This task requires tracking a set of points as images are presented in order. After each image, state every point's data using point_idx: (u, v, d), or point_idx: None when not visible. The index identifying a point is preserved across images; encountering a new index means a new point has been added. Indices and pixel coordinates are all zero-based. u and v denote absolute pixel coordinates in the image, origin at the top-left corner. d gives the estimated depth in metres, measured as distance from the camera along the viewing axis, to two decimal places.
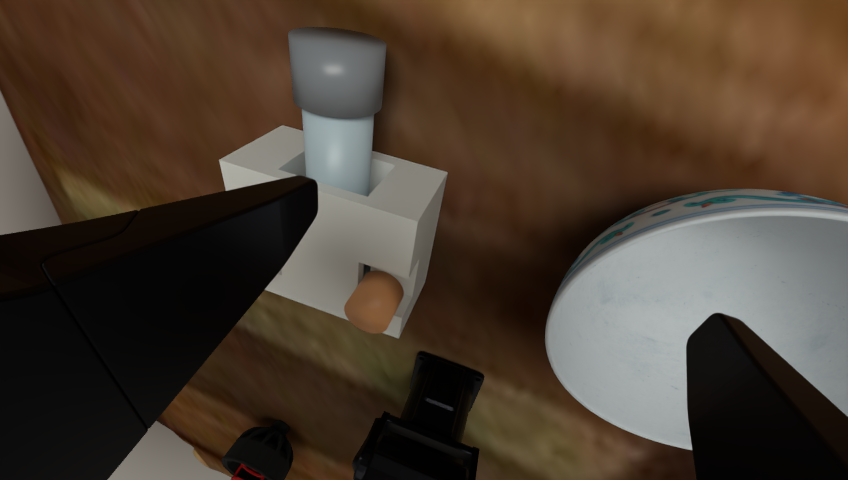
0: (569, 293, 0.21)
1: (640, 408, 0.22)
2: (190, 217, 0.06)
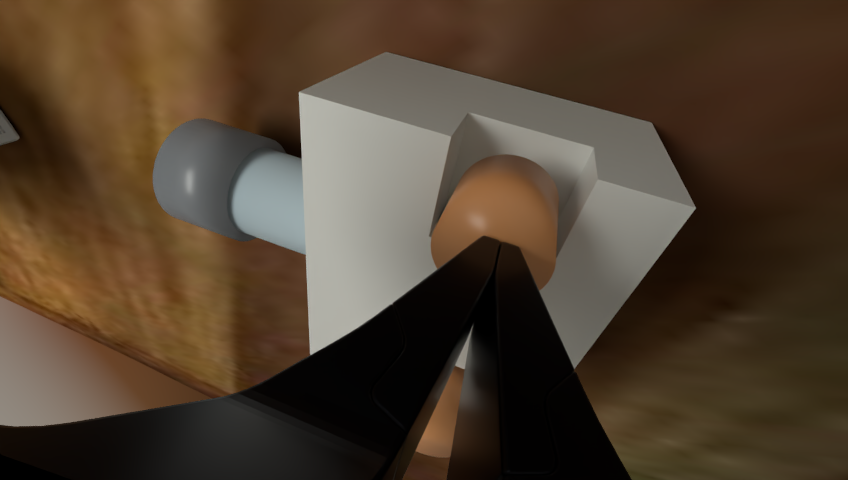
0: None
1: None
2: (444, 310, 0.05)
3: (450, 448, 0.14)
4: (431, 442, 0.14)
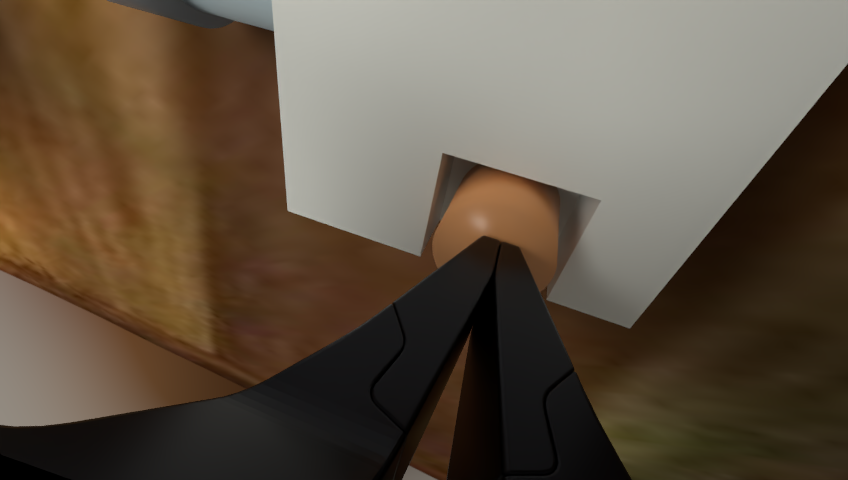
0: None
1: None
2: (444, 309, 0.05)
3: (536, 276, 0.08)
4: None
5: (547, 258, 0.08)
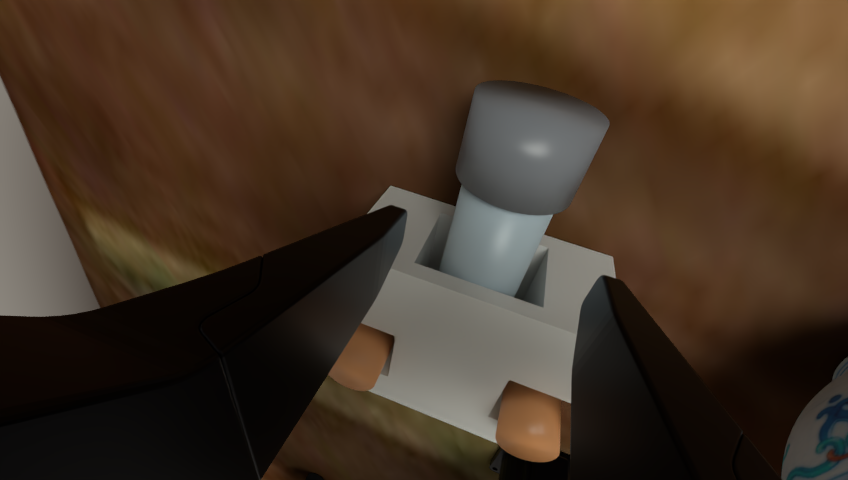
0: None
1: None
2: (314, 262, 0.06)
3: (346, 383, 0.19)
4: (344, 375, 0.18)
5: (356, 388, 0.19)
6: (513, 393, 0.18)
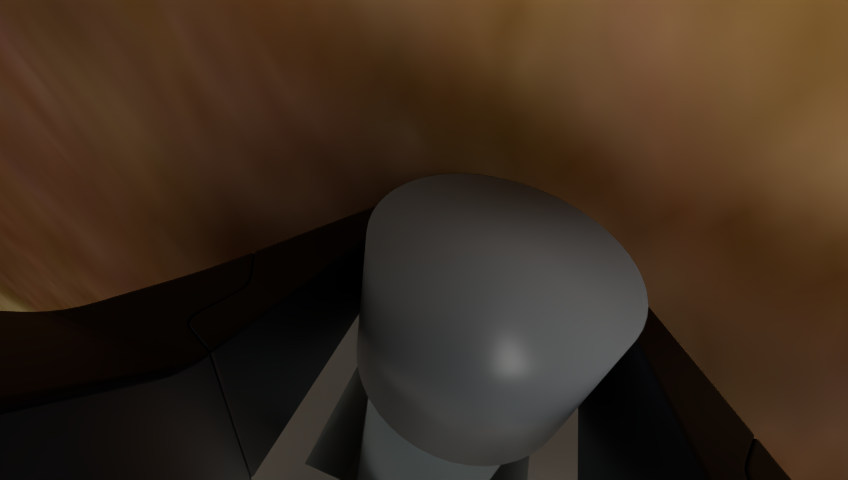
0: None
1: None
2: (305, 259, 0.06)
3: None
4: None
5: None
6: None
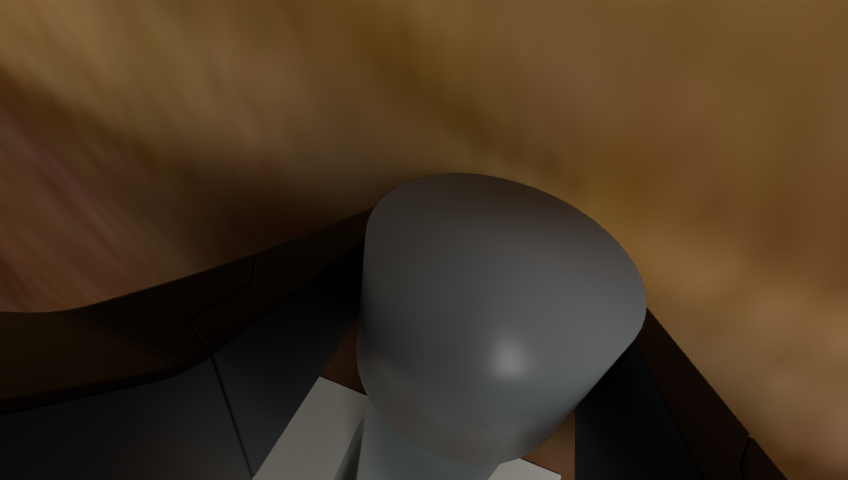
0: None
1: None
2: (307, 260, 0.06)
3: None
4: None
5: None
6: None
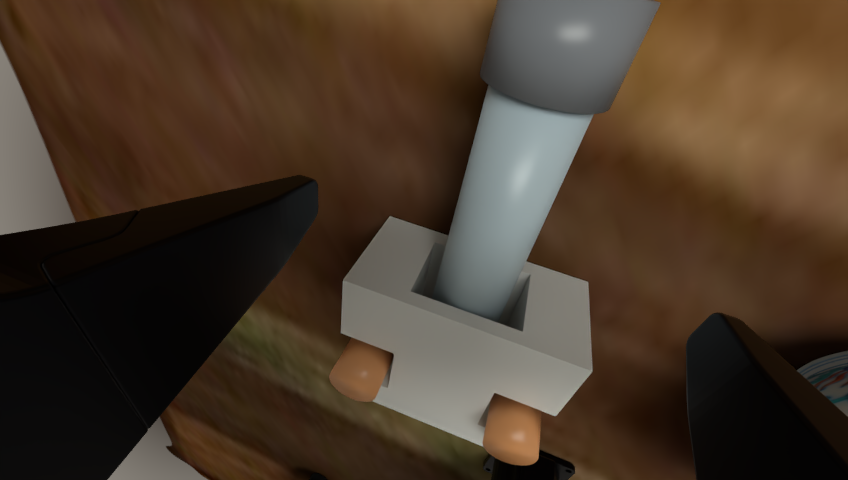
0: None
1: None
2: (190, 217, 0.06)
3: (350, 395, 0.21)
4: (348, 388, 0.21)
5: (359, 399, 0.21)
6: (498, 404, 0.20)
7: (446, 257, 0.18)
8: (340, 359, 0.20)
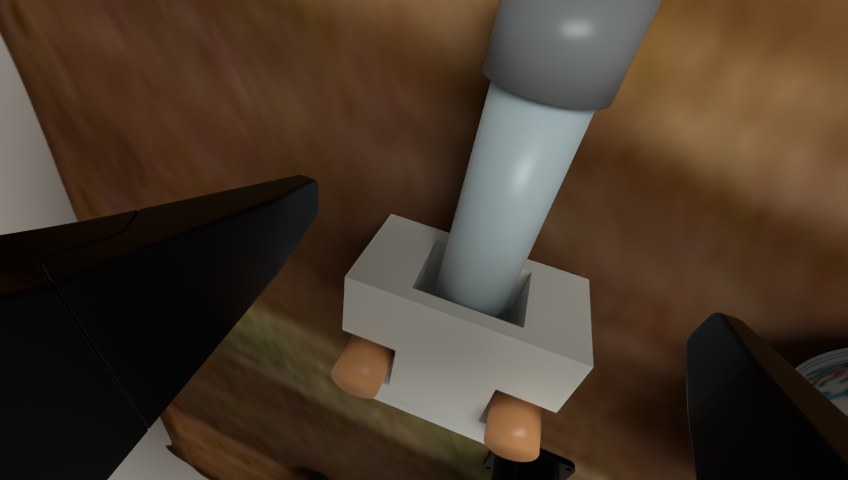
0: None
1: None
2: (190, 217, 0.06)
3: (351, 392, 0.21)
4: (350, 384, 0.21)
5: (360, 396, 0.21)
6: (499, 401, 0.20)
7: (448, 254, 0.18)
8: (342, 356, 0.20)
